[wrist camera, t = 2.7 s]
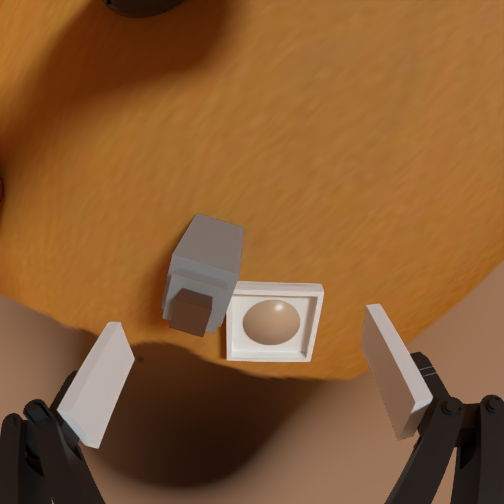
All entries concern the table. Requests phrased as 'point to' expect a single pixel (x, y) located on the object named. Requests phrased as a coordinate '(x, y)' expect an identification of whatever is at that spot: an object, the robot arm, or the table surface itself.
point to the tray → (273, 321)
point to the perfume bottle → (203, 275)
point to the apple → (0, 189)
